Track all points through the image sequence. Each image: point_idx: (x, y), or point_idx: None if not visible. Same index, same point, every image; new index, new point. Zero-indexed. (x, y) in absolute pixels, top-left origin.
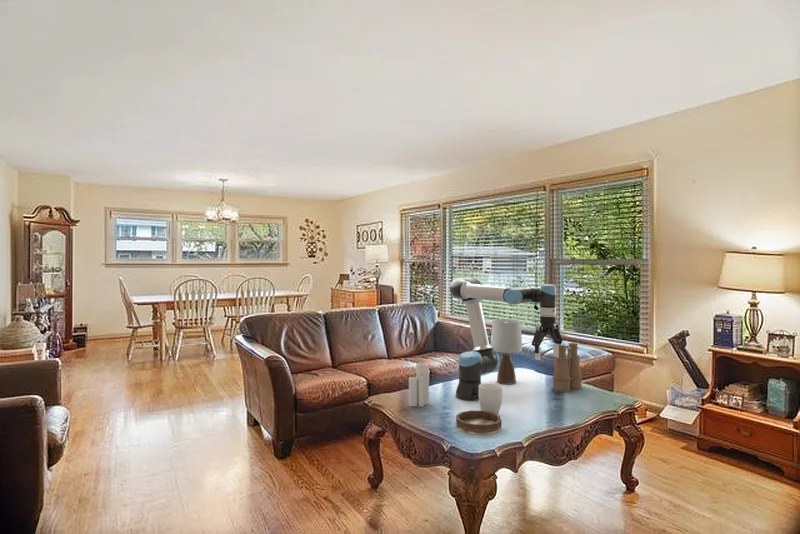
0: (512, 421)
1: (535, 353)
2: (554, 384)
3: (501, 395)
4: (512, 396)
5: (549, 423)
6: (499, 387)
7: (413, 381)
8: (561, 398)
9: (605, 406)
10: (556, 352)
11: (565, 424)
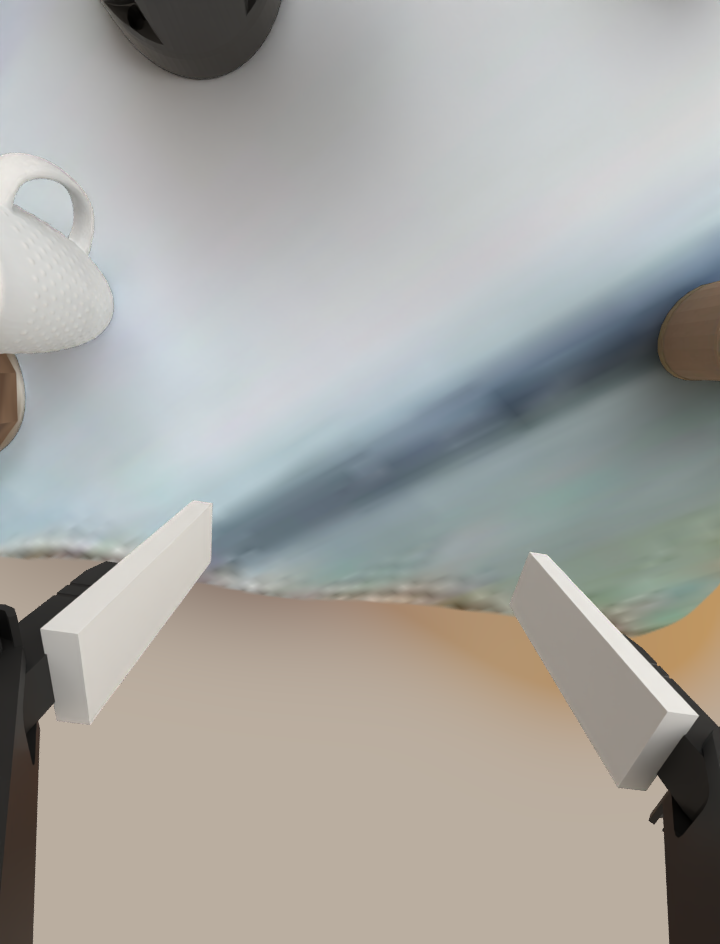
0: (94, 435)
1: (146, 545)
2: (703, 304)
3: (28, 347)
4: (399, 196)
5: None
6: (6, 303)
7: None
8: (536, 416)
9: None
10: (540, 632)
11: (236, 577)
